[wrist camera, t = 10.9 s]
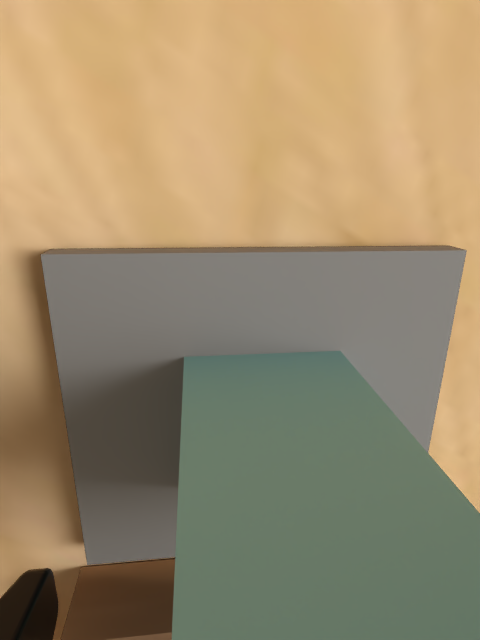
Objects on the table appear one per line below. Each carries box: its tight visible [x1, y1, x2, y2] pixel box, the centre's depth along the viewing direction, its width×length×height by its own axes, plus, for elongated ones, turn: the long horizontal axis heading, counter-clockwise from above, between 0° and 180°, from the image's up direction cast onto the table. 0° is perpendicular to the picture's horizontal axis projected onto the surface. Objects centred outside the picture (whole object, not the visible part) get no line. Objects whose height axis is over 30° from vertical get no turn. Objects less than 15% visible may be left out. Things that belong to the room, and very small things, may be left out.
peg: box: [172, 351, 480, 640], centre depth 7 cm, size 4×4×10 cm
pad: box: [41, 246, 467, 565], centre depth 12 cm, size 10×11×1 cm
